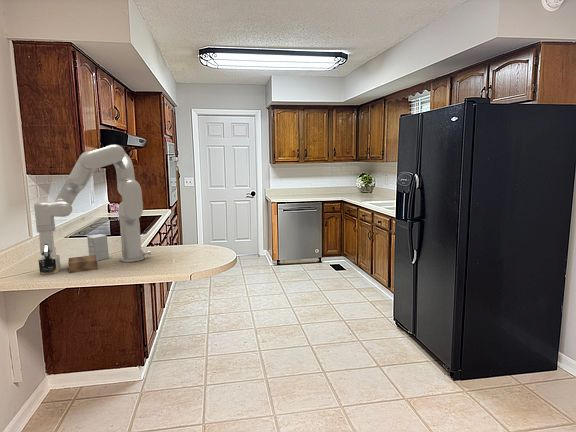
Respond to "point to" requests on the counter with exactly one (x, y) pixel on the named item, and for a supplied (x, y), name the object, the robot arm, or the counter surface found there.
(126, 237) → the robot arm
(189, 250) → the counter surface
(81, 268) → the walnut block
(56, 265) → the medicine bottle
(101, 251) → the supplement box
